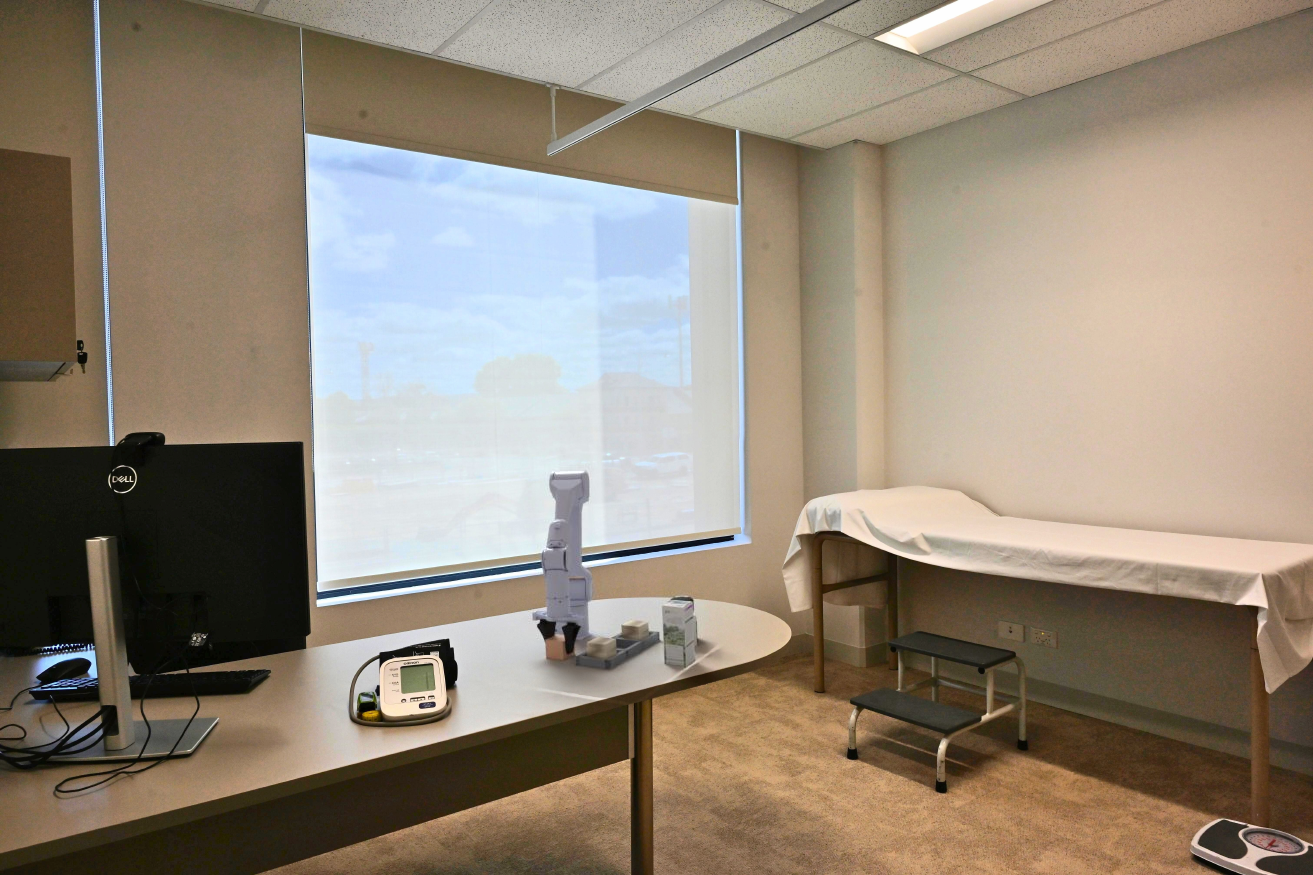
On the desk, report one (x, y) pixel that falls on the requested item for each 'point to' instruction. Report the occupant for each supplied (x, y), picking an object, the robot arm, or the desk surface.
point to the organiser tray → (618, 651)
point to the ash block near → (601, 648)
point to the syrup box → (678, 632)
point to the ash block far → (635, 630)
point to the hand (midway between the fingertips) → (560, 651)
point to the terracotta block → (557, 648)
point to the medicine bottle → (686, 598)
